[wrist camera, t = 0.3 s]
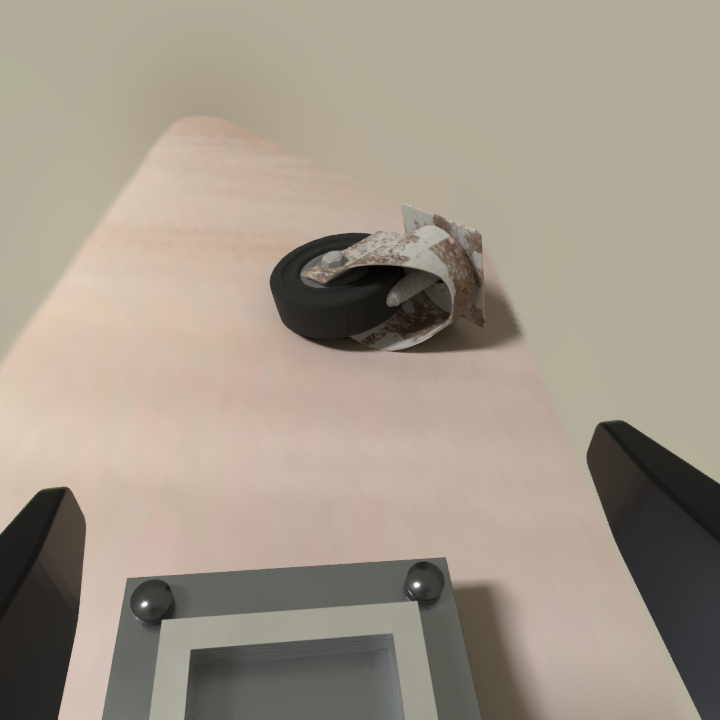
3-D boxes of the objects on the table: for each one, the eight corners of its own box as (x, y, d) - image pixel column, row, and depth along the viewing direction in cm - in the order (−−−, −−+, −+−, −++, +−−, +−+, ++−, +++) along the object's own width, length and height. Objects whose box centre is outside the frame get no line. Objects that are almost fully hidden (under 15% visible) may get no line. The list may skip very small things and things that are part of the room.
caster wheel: (265, 330, 40) (378, 266, 44) (366, 411, 33) (492, 324, 36) (234, 244, 36) (362, 180, 40) (343, 314, 28) (488, 227, 32)
